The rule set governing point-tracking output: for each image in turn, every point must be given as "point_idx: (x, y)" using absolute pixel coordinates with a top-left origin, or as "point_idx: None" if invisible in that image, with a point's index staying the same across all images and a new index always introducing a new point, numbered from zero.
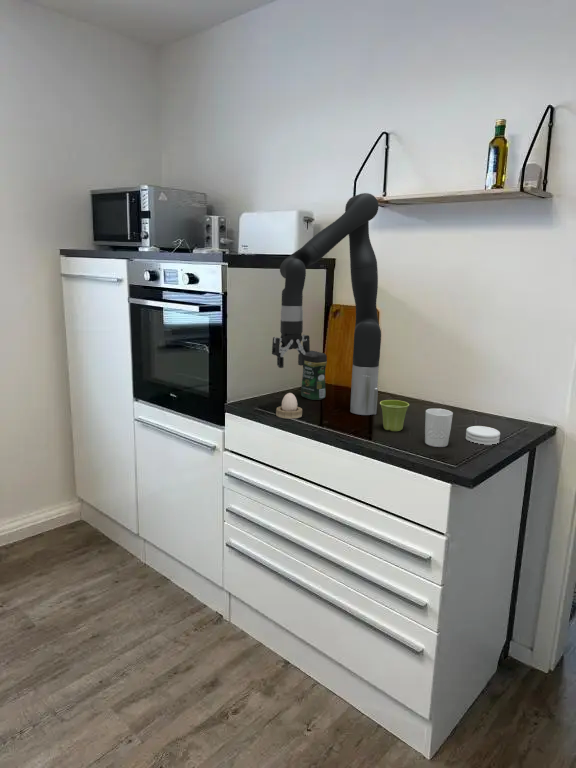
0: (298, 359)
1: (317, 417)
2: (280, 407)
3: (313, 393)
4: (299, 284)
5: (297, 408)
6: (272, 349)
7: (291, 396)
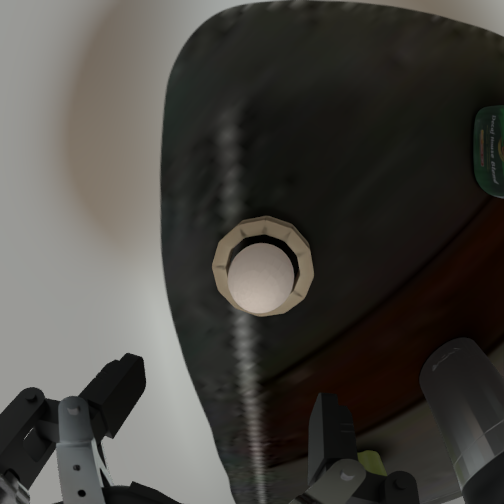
0: (322, 421)
1: (319, 337)
2: (249, 234)
3: (487, 182)
4: None
5: (297, 281)
6: (6, 413)
7: (249, 310)
